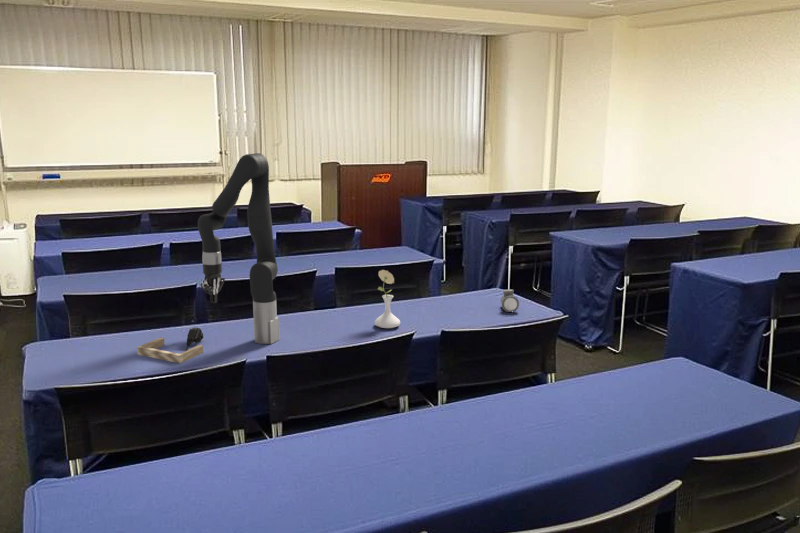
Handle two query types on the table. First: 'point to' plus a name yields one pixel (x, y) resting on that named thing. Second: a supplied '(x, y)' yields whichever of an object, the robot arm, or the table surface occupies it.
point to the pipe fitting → (509, 301)
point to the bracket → (151, 351)
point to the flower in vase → (387, 304)
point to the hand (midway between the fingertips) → (213, 302)
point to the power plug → (194, 336)
